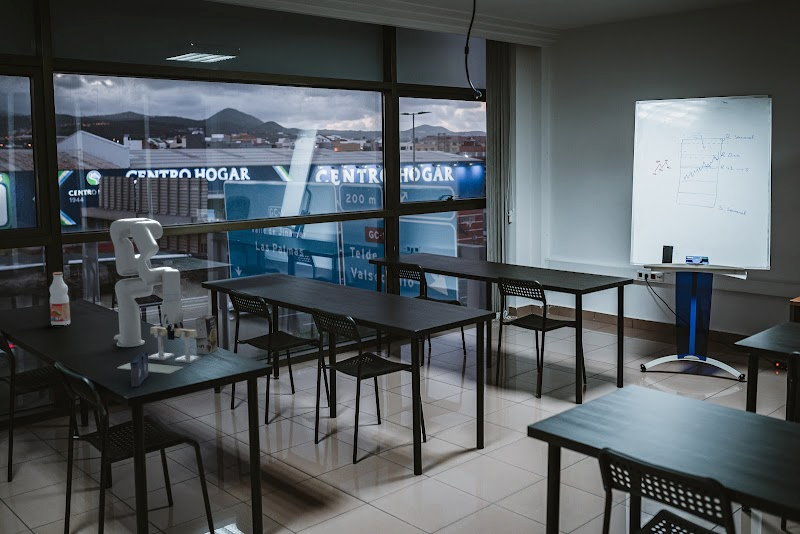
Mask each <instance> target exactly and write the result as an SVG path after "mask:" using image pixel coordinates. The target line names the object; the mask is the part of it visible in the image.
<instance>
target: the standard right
mask: <svg viewBox="0 0 800 534" xmlns="http://www.w3.org/2000/svg"><path fill="white" fill-rule="evenodd" d="M180 339H181V340H182V341H184V355H181V356H179V357H176V358H174V362H179V363H189V364H191V363H194V362H196V361H198V360H201V359H202V356H201V355H200V356H199V355H191V338H187V337H186V332H181V337H180Z"/></svg>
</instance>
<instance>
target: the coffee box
mask: <svg viewBox="0 0 800 534" xmlns="http://www.w3.org/2000/svg"><path fill="white" fill-rule="evenodd" d="M195 330H197V337H195V342H196V344H195V345H196V346H195V347H196V350H195V351H196V354H200V355H201V354H202V355H210V354H212V353H214V352H215V351H218V340H217V337H218V336H217V315H202V316H199V317H196V318H195Z"/></svg>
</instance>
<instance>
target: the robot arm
mask: <svg viewBox="0 0 800 534" xmlns="http://www.w3.org/2000/svg"><path fill="white" fill-rule="evenodd" d="M163 234H164V231H163V227H162V225H161V224H160V222H159V221H157V220H155V219H150V218H148V217H147V218H145V217H139V218H138V217H137V218H136V217H135V218H124V219H122V218H121V219H117V220H115V221H113V222H111V224H110V227H109V235H110V238H111V241H112V244H113V247H114V248H113V249H114V256H115V267H116V272H117V274H118V275H119V276H122V277H127V276H137V275H138V277H131V278H123V279H120V280H118V281H117V282H116V283H115V285H114V290H115V296H116V301H117V308H118V309H117V310H118V326H119V328H118V329H119V334H115V335H114V336H113V340H117V342H116V346H117V347H119V348H120V347H121V348H135V347H140V346H143V345H145V344H146V343H145V340H143V339H142V333H141V332H142V331H141V313H140V312H141V311H140V310H141V309H140V306H139V304H138V303H137V301H136V300H135V299H136V298H145V297H149V296H151V295H152V294H153V291H154V287H155V286H159V285H161V286H162V303H161V310H160V311H161V312H160V314H161V315H160V318H161V324H162V327H165V328H166V330H167V335H168V336H167V340H171V341H174V340H175V339H181V337H176V336H174V331H173V328H181V324H182V323H183V321H184V311H183V304H182V303H183V302H182V295H181V294H182V293H181V274H180V273H181V272H180V271H179V269H176V268H173V267H169V266H162V267H152V263H151V258H152V257H154V256H155V255H156V254H158V252H159V249H160V247H159V245H158V243H157V241H156V240H157V239H158V240H159V239H160V238H162V236H163ZM130 238H132V240H133V242H134V243H135V245H136V248H137V249H138V253H139V254H135V250H134V248H135V247H134V245H133V243H132V241H131V240H130Z"/></svg>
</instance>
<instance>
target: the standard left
mask: <svg viewBox="0 0 800 534" xmlns="http://www.w3.org/2000/svg"><path fill="white" fill-rule="evenodd" d="M153 337H154V338H156V339H157V349H158V351H157V353H154V354H151V355H148V360H157V361H165V360H167V359H170V358H174V357H175V353H172V352H170V353H168V352H164V349H165V348H164V335H159V330H154V335H153Z"/></svg>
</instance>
